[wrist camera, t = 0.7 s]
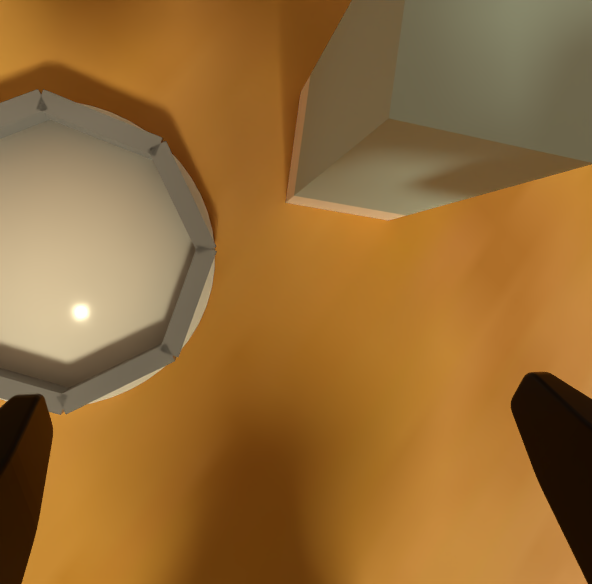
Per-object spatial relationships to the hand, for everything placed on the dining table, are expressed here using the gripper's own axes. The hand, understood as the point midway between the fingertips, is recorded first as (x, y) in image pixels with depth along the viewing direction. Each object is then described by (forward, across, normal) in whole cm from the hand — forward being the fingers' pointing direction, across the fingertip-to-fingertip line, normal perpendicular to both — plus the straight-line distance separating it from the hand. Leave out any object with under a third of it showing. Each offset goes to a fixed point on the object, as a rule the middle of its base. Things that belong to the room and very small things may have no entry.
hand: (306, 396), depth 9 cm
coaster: (+12, +8, +5) cm, 15 cm away
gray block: (+15, -5, +1) cm, 16 cm away
